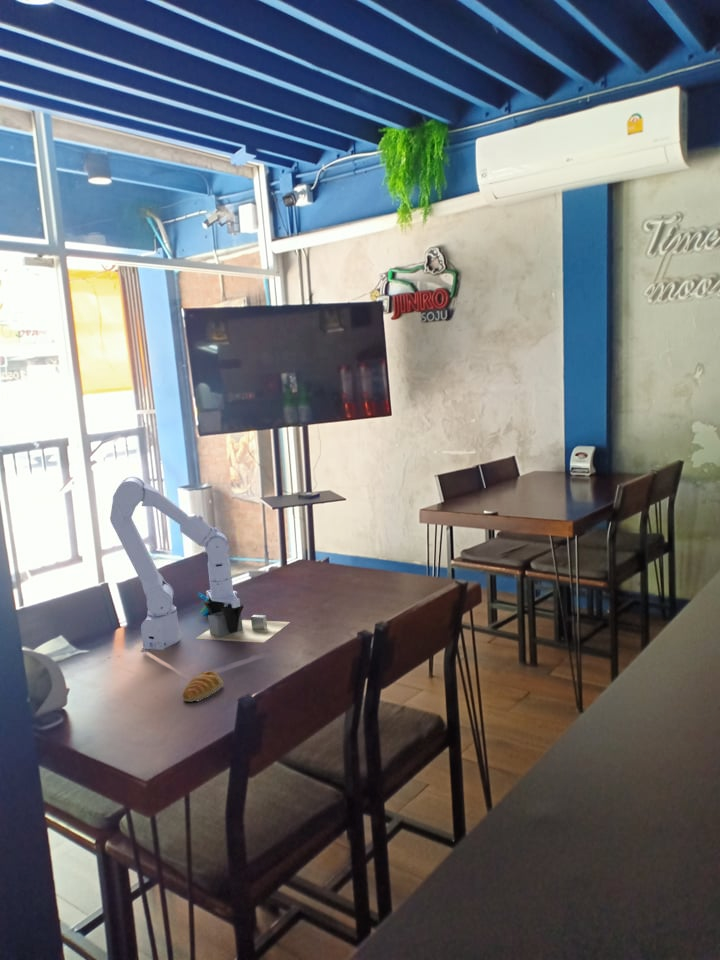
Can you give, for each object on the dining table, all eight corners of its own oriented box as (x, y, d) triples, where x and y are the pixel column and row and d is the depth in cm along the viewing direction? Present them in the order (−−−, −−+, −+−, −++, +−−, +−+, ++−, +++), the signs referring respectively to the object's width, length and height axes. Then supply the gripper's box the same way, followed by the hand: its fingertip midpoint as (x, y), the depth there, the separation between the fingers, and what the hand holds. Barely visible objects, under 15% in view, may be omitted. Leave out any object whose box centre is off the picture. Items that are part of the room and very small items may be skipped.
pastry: (202, 706, 153) (199, 688, 152) (174, 703, 155) (172, 686, 155) (226, 687, 162) (224, 670, 161) (199, 684, 164) (197, 668, 164)
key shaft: (264, 630, 193) (263, 617, 192) (252, 629, 194) (250, 616, 193) (267, 628, 194) (265, 615, 194) (255, 627, 195) (253, 614, 195)
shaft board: (264, 646, 184) (263, 642, 183) (195, 642, 191) (195, 638, 191) (290, 625, 197) (290, 622, 197) (226, 622, 205) (225, 618, 205)
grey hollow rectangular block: (242, 630, 194) (240, 612, 193) (219, 637, 190) (217, 619, 189) (233, 626, 198) (231, 608, 197) (210, 633, 193) (207, 615, 193)
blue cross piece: (231, 612, 207) (202, 592, 205) (218, 630, 206) (189, 609, 204) (225, 607, 218) (197, 588, 216) (212, 624, 217) (185, 604, 214)
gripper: (248, 579, 188) (253, 630, 190) (220, 570, 200) (226, 618, 202) (223, 586, 184) (229, 638, 186) (197, 576, 195) (202, 625, 197)
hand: (226, 628), depth 193 cm, fingers open, 7 cm apart
